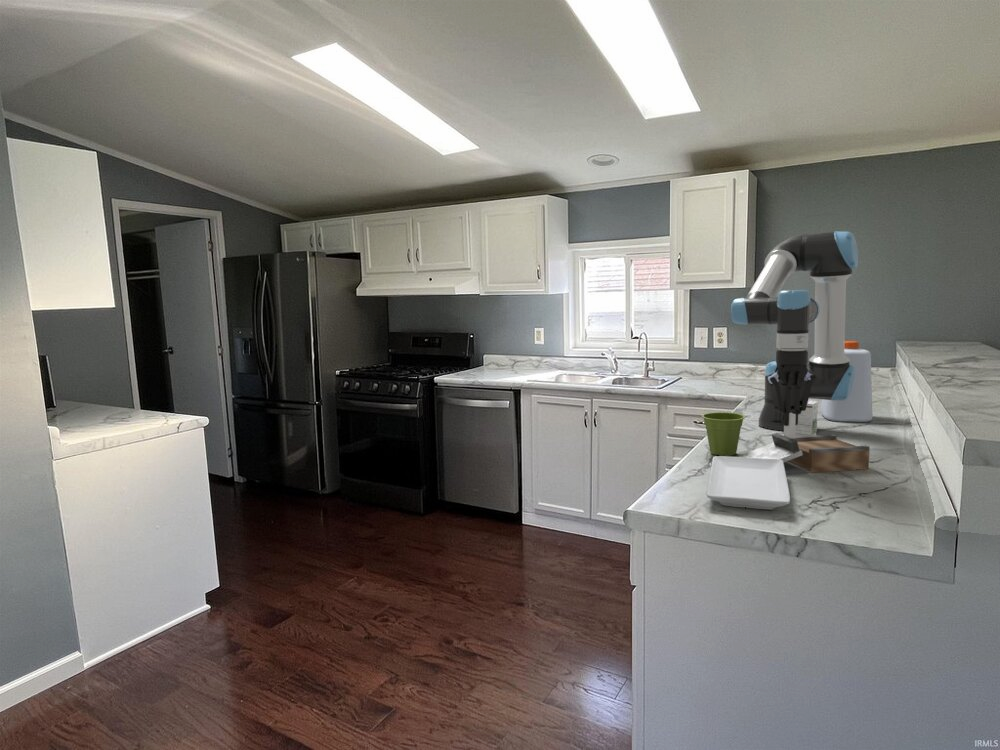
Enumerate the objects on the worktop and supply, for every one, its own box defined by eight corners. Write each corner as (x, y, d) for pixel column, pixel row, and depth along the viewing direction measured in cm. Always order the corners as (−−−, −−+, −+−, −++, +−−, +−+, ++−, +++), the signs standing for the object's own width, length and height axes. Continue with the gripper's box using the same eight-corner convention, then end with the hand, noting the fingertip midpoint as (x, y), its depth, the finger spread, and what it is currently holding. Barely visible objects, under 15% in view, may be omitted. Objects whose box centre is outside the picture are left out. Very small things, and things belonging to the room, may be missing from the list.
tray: (705, 509, 131) (705, 493, 130) (712, 467, 159) (713, 454, 159) (790, 517, 124) (791, 501, 124) (782, 472, 153) (783, 459, 152)
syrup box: (794, 446, 181) (796, 399, 179) (816, 449, 177) (818, 400, 175) (789, 450, 176) (791, 401, 174) (811, 453, 173) (813, 403, 171)
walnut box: (832, 455, 170) (833, 434, 169) (868, 468, 156) (869, 446, 155) (779, 458, 168) (780, 437, 167) (811, 472, 154) (812, 450, 153)
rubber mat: (776, 458, 168) (776, 456, 168) (807, 473, 154) (807, 470, 154) (722, 462, 166) (722, 460, 166) (748, 476, 152) (749, 474, 152)
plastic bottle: (827, 421, 213) (830, 343, 209) (818, 413, 227) (821, 340, 224) (875, 423, 208) (879, 343, 205) (863, 414, 223) (867, 339, 219)
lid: (778, 444, 166) (774, 432, 165) (802, 455, 155) (799, 441, 154) (735, 461, 165) (731, 448, 164) (757, 472, 154) (753, 458, 153)
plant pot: (724, 446, 183) (725, 410, 181) (753, 455, 172) (754, 417, 170) (692, 451, 179) (693, 414, 177) (720, 460, 168) (721, 421, 166)
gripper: (776, 351, 152) (774, 442, 155) (824, 349, 154) (821, 439, 157) (760, 349, 160) (758, 435, 163) (806, 347, 161) (803, 432, 164)
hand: (789, 437), depth 160 cm, fingers closed
